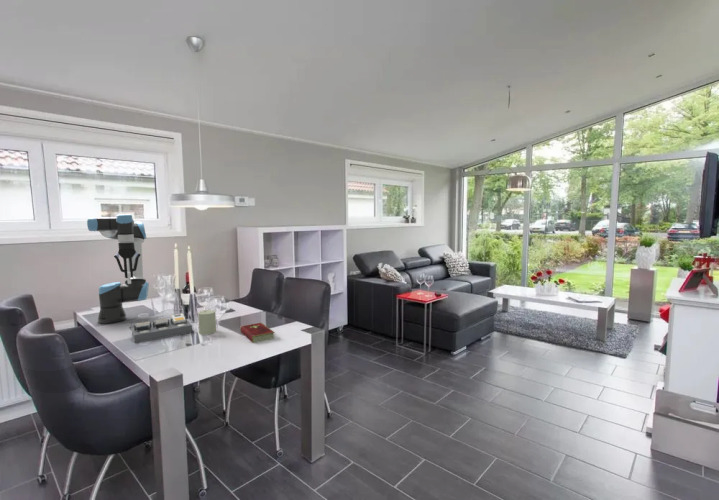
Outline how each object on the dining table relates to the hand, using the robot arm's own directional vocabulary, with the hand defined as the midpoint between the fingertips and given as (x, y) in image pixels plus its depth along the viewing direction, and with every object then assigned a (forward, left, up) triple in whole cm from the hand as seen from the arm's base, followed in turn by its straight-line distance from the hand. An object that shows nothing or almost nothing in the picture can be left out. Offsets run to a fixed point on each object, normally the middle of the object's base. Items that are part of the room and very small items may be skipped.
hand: (129, 283), depth 210 cm
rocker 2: (+14, +22, -21) cm, 33 cm away
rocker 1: (+14, +4, -21) cm, 25 cm away
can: (+29, +34, -28) cm, 53 cm away
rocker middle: (+14, +13, -21) cm, 28 cm away
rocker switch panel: (+16, +13, -28) cm, 34 cm away
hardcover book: (+52, +54, -28) cm, 80 cm away
